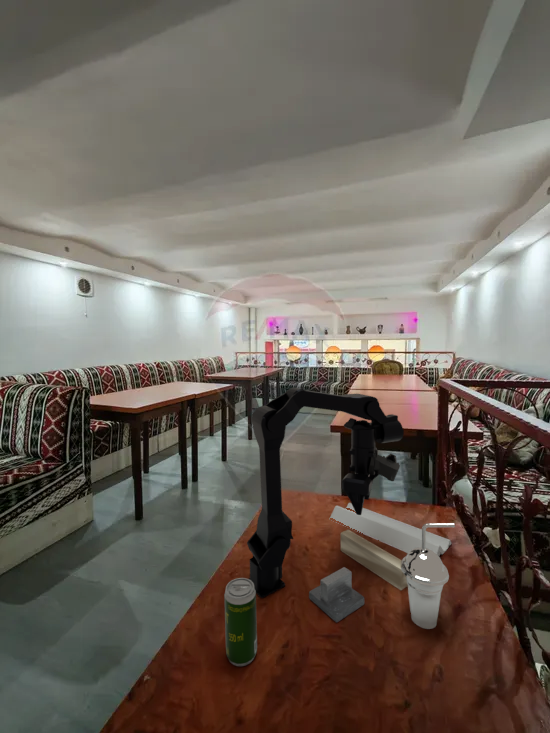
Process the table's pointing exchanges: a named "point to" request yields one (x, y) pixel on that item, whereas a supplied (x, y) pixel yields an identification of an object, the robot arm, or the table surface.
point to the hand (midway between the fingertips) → (362, 506)
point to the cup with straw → (425, 580)
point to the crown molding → (389, 530)
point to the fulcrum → (337, 595)
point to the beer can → (240, 621)
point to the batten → (373, 558)
